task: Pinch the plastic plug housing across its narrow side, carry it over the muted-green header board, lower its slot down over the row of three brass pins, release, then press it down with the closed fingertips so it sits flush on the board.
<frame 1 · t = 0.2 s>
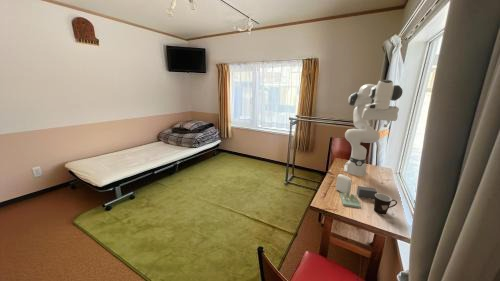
hand: (377, 126, 132), 47 cm above the table, fingers open, 8 cm apart
header board: (349, 200, 130), on the table
photo printer: (342, 191, 142), on the table
coffee mug: (382, 212, 119), on the table
plug housing: (365, 196, 136), on the table
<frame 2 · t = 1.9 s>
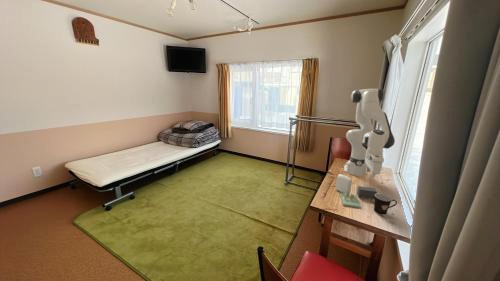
hand: (370, 174, 131), 17 cm above the table, fingers open, 8 cm apart
nothing on the table moved.
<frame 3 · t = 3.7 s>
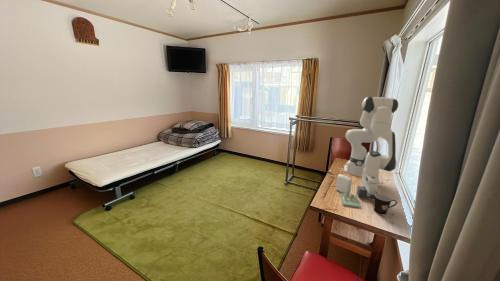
hand: (366, 193, 135), 2 cm above the table, fingers closed on plug housing, 5 cm apart
plug housing: (365, 196, 136), on the table, touching gripper
everything else where it was.
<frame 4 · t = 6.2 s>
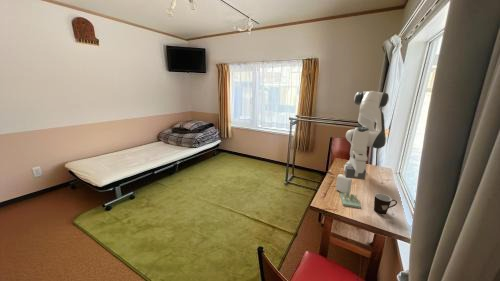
hand: (354, 173, 125), 19 cm above the table, fingers closed on plug housing, 5 cm apart
plug housing: (354, 177, 126), point 17 cm above the table, touching gripper
everything else where it was.
when the fingers open (4 cm above the table, at t = 8.8 s): plug housing stays where it is, resting on header board.
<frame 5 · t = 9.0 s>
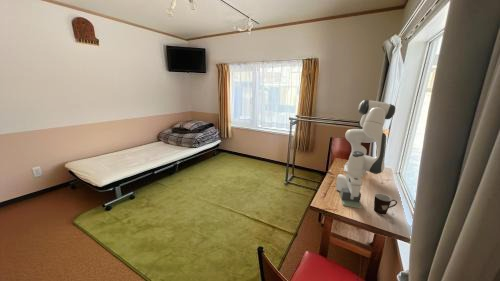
hand: (350, 195, 129), 4 cm above the table, fingers open, 6 cm apart
plug housing: (349, 199, 130), point 1 cm above the table, touching header board
everything else where it was.
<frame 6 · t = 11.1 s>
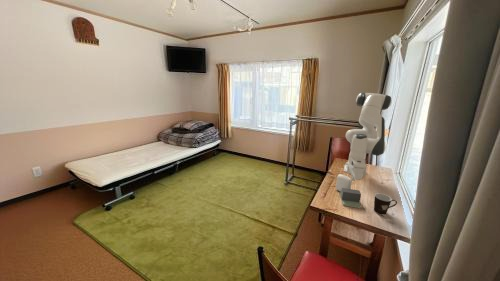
hand: (353, 180, 126), 15 cm above the table, fingers closed
nothing on the table moved.
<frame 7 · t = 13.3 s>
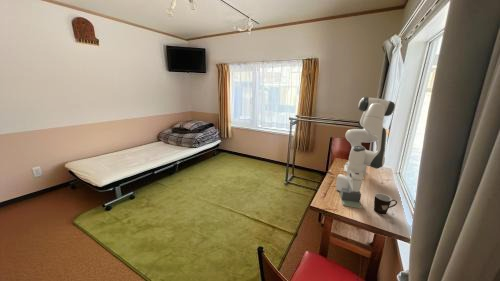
hand: (351, 191, 128), 7 cm above the table, fingers closed, pressing on plug housing
plug housing: (349, 199, 130), point 1 cm above the table, touching gripper, header board
everything else where it was.
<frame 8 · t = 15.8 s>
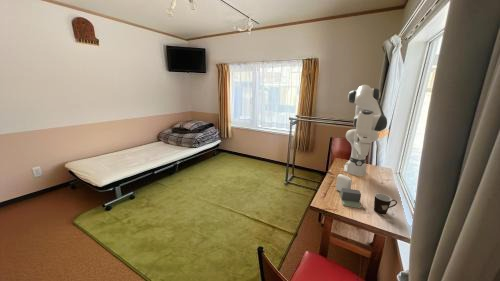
hand: (358, 157, 126), 29 cm above the table, fingers closed
plug housing: (349, 199, 130), point 1 cm above the table, touching header board
everything else where it was.
at the end: plug housing 0.1 cm off-centre on the header board, point 1.2 cm above the header board's base; plug housing tilted 0°; the gripper is holding nothing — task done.
